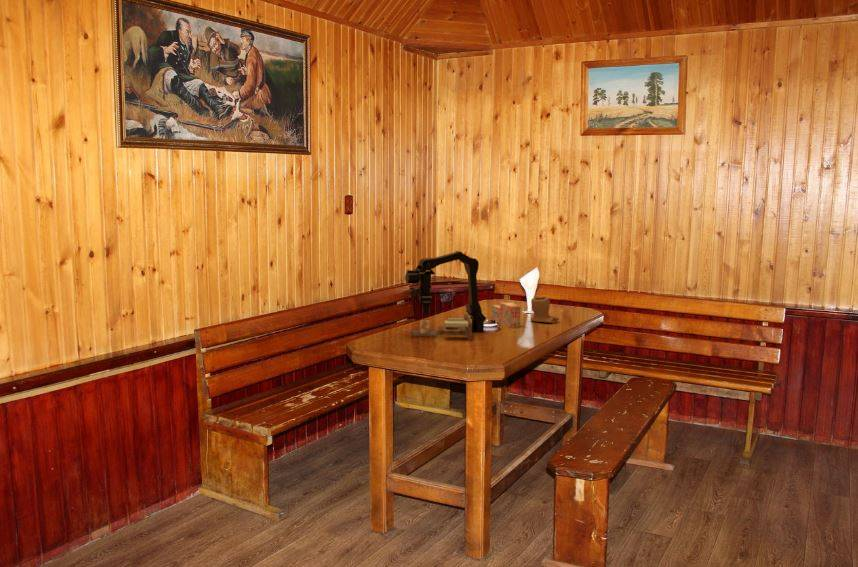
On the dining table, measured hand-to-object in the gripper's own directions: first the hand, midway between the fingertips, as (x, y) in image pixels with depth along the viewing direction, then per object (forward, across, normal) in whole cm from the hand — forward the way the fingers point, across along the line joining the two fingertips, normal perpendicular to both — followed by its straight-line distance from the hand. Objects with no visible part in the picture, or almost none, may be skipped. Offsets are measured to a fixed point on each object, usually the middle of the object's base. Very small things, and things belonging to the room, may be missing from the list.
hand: (424, 312), depth 381 cm
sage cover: (+4, +10, +16) cm, 19 cm away
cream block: (+10, 0, 0) cm, 10 cm away
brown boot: (+11, -37, +70) cm, 80 cm away
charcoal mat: (+12, 0, 0) cm, 12 cm away
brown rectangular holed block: (+11, +1, +15) cm, 19 cm away
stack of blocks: (+12, -31, +47) cm, 58 cm away
